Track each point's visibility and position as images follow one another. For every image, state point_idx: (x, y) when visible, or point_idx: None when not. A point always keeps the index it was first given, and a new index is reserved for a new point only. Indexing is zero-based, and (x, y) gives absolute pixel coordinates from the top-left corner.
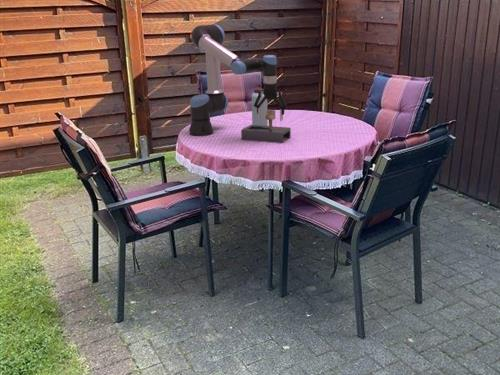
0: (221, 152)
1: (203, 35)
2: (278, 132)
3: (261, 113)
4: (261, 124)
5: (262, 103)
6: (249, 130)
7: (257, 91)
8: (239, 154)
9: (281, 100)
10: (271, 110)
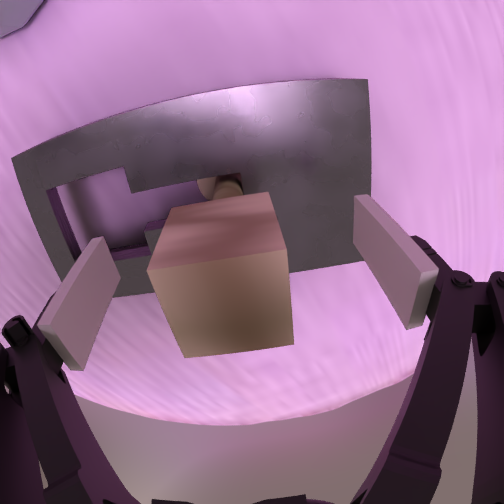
0: (181, 405)
1: None
2: (337, 260)
3: None
4: (21, 6)
5: (51, 387)
6: (120, 295)
7: None
8: (247, 402)
9: (487, 434)
10: (233, 293)
